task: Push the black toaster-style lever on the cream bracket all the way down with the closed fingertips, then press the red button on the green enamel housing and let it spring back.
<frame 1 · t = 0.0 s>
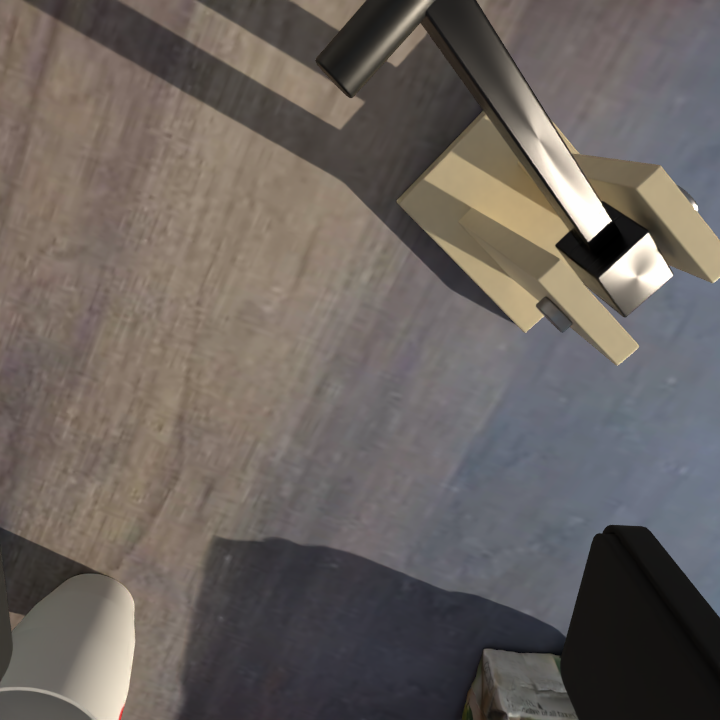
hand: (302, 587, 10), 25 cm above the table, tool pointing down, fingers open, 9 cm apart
bracket: (515, 212, 33), on the table
cup: (94, 602, 41), on the table
lever: (545, 157, 18), point 14 cm above the table, hinge at 25.0°
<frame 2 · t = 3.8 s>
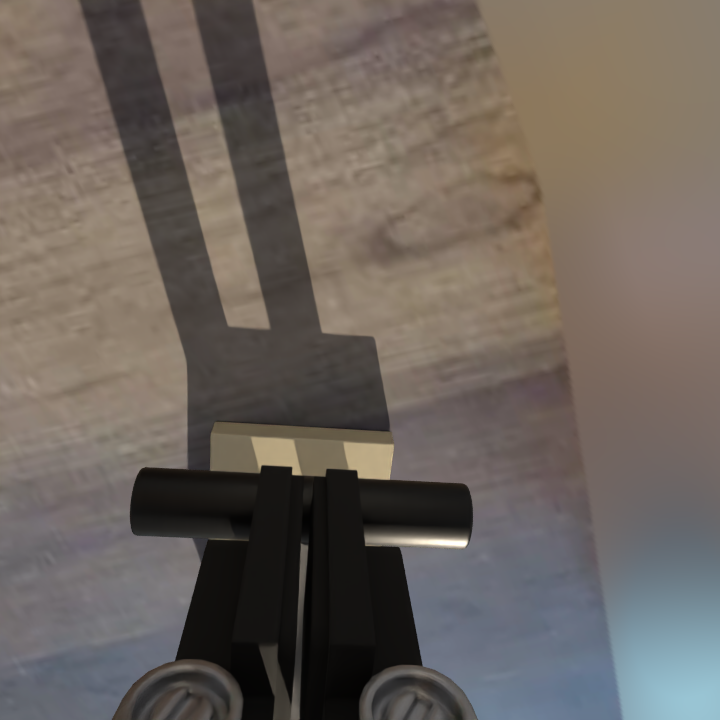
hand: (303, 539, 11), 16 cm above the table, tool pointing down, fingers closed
bracket: (297, 518, 30), on the table
lever: (291, 669, 16), point 14 cm above the table, hinge at 18.1°
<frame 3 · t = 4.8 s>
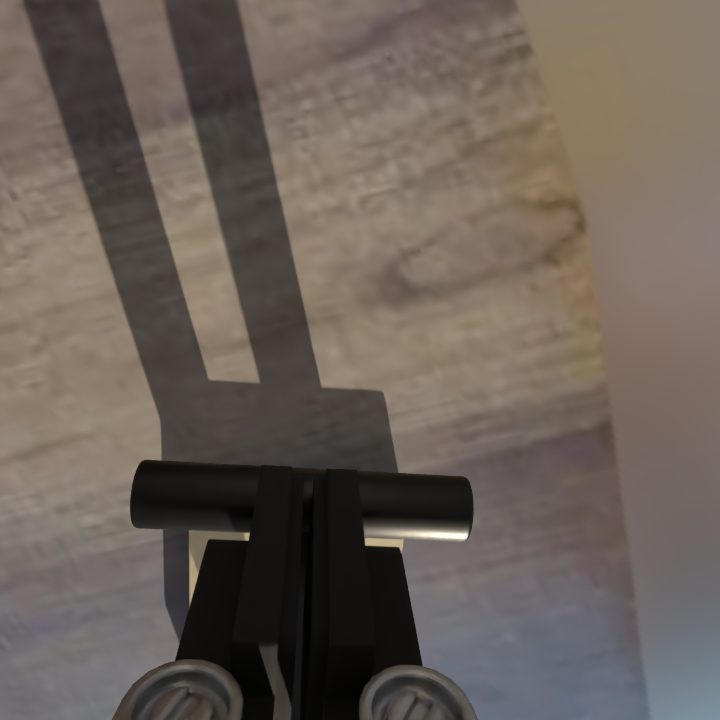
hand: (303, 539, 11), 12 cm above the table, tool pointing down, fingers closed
bracket: (293, 597, 26), on the table
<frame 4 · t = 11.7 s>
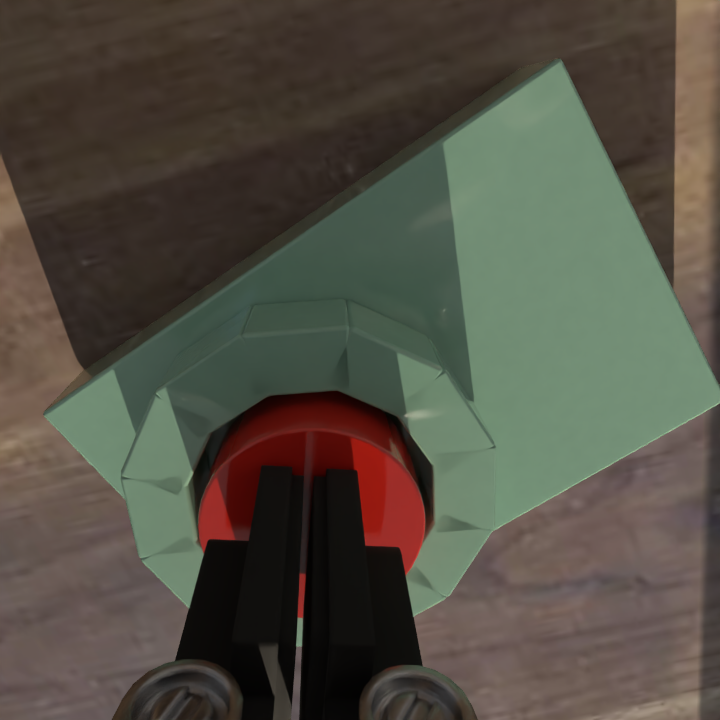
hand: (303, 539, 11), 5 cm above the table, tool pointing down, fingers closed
button: (313, 502, 12), point 4 cm above the table, slide at -0.5 cm, touching gripper
button box: (384, 368, 15), on the table
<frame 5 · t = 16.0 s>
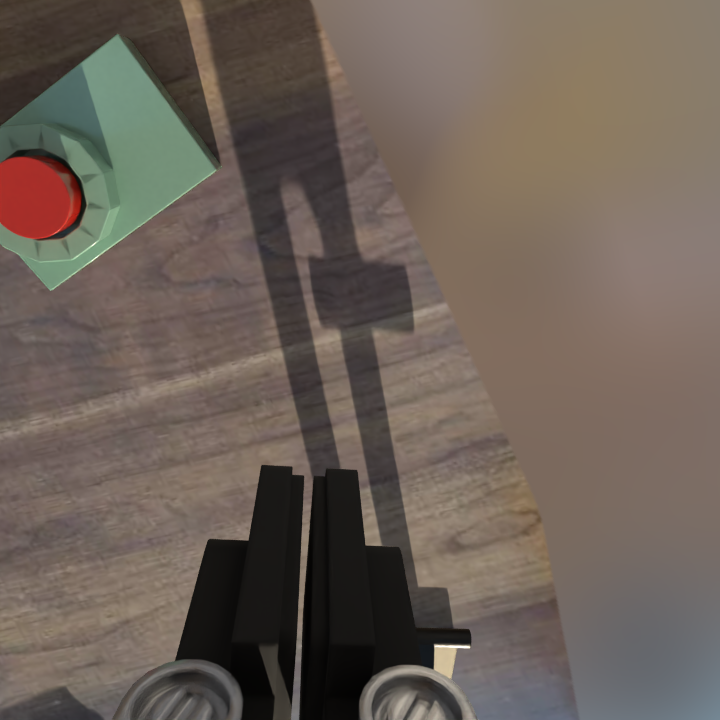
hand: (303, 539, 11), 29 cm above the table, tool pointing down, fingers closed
button: (35, 196, 32), point 4 cm above the table, slide at 0.1 cm
bracket: (397, 680, 51), on the table
button box: (95, 167, 36), on the table
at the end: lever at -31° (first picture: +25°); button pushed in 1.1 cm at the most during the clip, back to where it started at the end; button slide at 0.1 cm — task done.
